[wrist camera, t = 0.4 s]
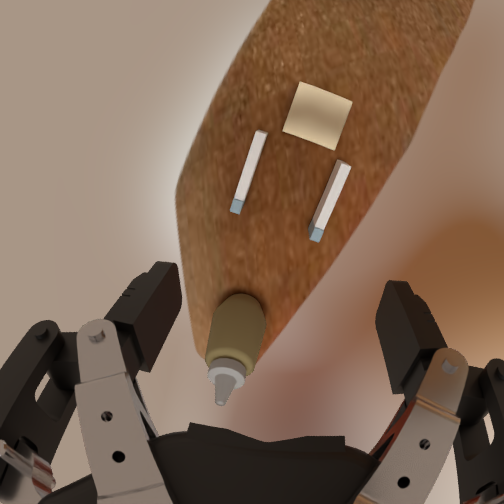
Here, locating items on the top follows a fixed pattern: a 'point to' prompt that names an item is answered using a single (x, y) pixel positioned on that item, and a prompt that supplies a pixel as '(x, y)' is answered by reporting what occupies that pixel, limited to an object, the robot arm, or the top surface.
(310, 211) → the top surface
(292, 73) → the top surface
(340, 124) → the maple block
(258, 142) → the corridor
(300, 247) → the top surface
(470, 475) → the robot arm
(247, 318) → the squeeze bottle
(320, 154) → the top surface
